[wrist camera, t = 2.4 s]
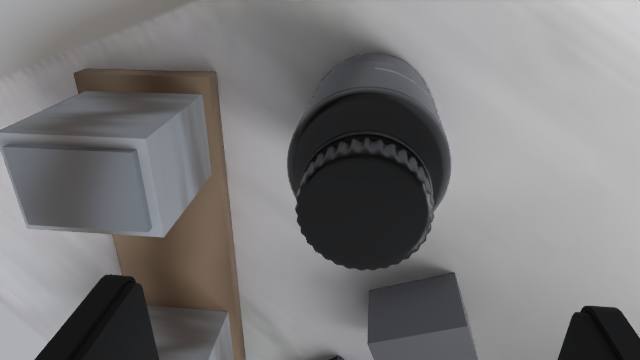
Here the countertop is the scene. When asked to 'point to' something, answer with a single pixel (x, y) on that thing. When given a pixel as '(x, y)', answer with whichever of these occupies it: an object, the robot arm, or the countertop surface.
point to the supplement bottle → (369, 163)
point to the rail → (196, 228)
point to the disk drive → (337, 358)
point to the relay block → (420, 321)
